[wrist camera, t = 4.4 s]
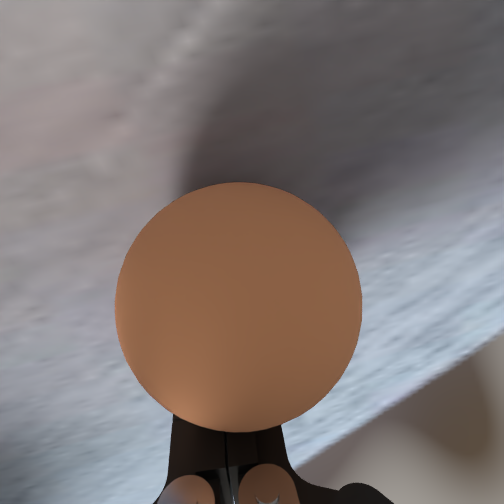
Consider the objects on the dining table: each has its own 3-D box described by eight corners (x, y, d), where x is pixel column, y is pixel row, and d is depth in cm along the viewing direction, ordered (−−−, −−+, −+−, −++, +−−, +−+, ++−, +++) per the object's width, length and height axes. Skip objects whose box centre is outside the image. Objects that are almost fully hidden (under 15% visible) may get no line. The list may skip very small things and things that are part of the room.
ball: (144, 306, 12) (94, 151, 8) (302, 279, 13) (324, 129, 9) (143, 499, 8) (45, 367, 4) (374, 441, 9) (466, 289, 5)
